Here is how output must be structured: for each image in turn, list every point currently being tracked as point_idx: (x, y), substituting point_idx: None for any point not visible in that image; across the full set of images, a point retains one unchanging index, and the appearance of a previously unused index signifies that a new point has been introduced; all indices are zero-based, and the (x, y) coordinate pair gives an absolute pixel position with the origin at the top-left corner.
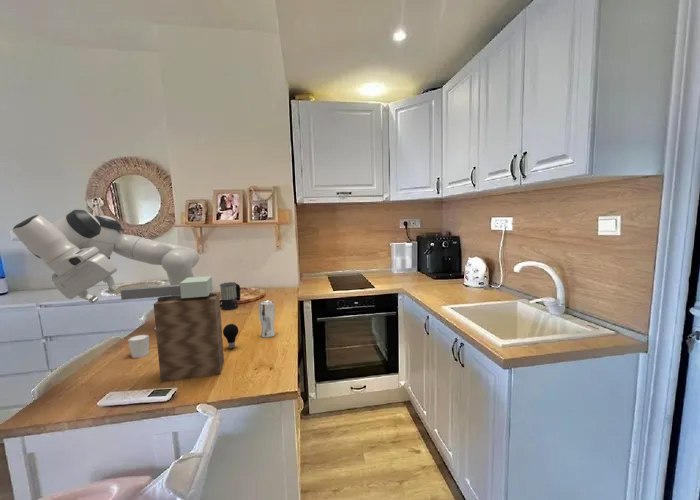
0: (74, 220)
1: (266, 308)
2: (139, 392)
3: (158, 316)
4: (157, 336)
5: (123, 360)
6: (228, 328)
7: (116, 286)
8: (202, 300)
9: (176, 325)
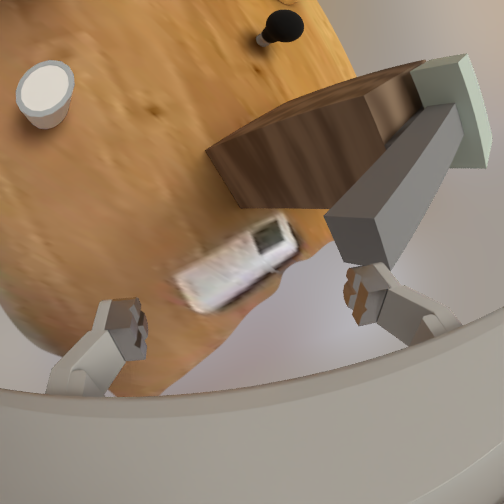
0: None
1: None
2: (234, 252)
3: None
4: (317, 207)
5: (34, 152)
6: (297, 31)
7: (386, 273)
8: None
9: None
